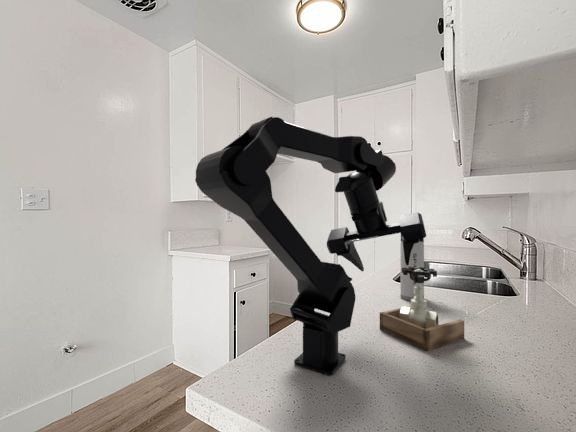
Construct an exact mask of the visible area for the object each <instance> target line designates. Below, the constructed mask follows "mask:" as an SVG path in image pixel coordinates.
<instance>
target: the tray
mask: <svg viewBox="0 0 576 432" xmlns="http://www.w3.org/2000/svg"><path fill="white" fill-rule="evenodd" d="M408 307H410V308H411V309H412V308H413V306H412V305H409V306H408ZM401 308H402V307H400V308H395V309H391V310H385V311H380V312H379V330H380V331H382V332H384V333H386V334H389V335H390V336H393V337H395V338H398V339H400V340H402V341H404V342H405V343H408V344H410V345H413V346H415V347H416V348H419V349H421V350H422V351H425V352H429V351H432V350H435V349H437V348H438V349H439V348H441V347H444V346H447V345H450V344H454V343H456V342H459V341H462V340H465V320H463V319H457V320H456V319H455V320H452V321H449V322H445V323H441V324H438V326H434V327H430V328H427V329H425V328H422V327H420V326H417V325H415V324H412V323H409V322H407V321H404V320H402V319H399V315H400V310H401Z"/></svg>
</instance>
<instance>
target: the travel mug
mask: <svg viewBox="0 0 576 432" xmlns="http://www.w3.org/2000/svg"><path fill="white" fill-rule="evenodd" d="M419 240H420V241H419V242H418V243H415V244H414V246H413V248H412V251H411V254H410V260H409V265H406V263H405V257H404V249H403V240H402V233H400V244H399V245H400V249H399V250H400V258H399V259H400V265H399V266H400V298H401V299H402V300H405V301H407V302H411V299H414V296H416V294H414V287H415V286H416V283H415V282H413V280H411V279H410V274H409V273H408V275H403V273H402V268H408V267H414V268H419V267H424V268H425V244H424V243H425V238H423V239H419ZM421 287H423V288H424V289H425V282H424V283H421ZM422 297H423V298H424V299H425V294H424V295H422Z"/></svg>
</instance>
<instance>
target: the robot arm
mask: <svg viewBox="0 0 576 432" xmlns="http://www.w3.org/2000/svg"><path fill="white" fill-rule="evenodd" d="M278 154H279V155H283V156H287V157H292V158H297V159H303V160H306V161H311V162H316V163H319V164H320V165H321V167H322V168H323V169H325V170H327V171H328V172H331V173H333V174H341V173H348V172H351V173H349V174H348V175H347V176H346V175H345V176H340V177H339V178H338V182H337V184H336V186H335V188H334V192H335V193H344V194H343V195H344V196H345V197H344V198H345V201H346V202H347V206H348V208H349V211H350V218H351V220H352V222H354V223H353V224H354V226H355V228H356V229H355V230H356V231H351V232H350V231H349V228H348V227H347V226H345V227H340V228H339V227H338V228H333V229H331V230H330V232H329V234H328V238H327V240H326V248H327V250H328V253H329V254H331V255H332V254H336V255H337V256H338V257H339V256H340V257H343V258H344V259H346V260H347V261H348V262H350V263H351V264H353V265H354V266H355V267H356V268H357V269H358V270H359V271H361V272H364V271H365V268H364V264H363V261H362V259H361V256H360V255H359V252H358V251H357V248H356V246H355V242H359V241H365V240H371V239H376V238H379V237H385V236H390V235H391V236H392V235H395V234H396V235H397V234H401V233H402V240H403V249H404V257H405V263H406V265H409V260H410V254H411V251H412V248H413V246H414V244H415V243H418V242H419V241H420V240H419V239H425V238H426V237H427V233H426V228H425V227H426V226H425V224H424V219H423V216H422V214H421V213H420V212H418V211H417V212H411V213H407V214H402V215H399V222H397V223H396V222H395V223H391V224H387V223H386V222H388V217H387V214H386V211H385V207H384V203H383V201H380V199H379V197H378V193H377V192H378V191H379V190H381V189H382V188H383V187H384V186H385V185H386V184H387V183H388V182H389V181H390V180H391V179H392V178H393V177H394V176H395V174H396V171H397V167H396V166H397V165H396V163H395V162H394V161H393V159H392V158H390V157H389V156H388V155H385V154H383V151H382V150H381V149H378V150H375V149H374V148H373V146H371V145H370V144H369V142H368V141H367V139H365V138H364V137H363V136H359V135H358V136H357V135H353V136H352V135H347V136H331V135H328V134H325V133H322V132H319V131H315V130H313V129H309V128H306V127H303V126H300V125H296V124H294V123H291V122H287V121H284V119H282V118H281V117H279V116H278V117H277V116H270V117H269V116H268V117H267V118H264V119H262V120H260V121H258V122H255V123H253V124H251V125H250V127H248V128H247V130H245V132H243V133H242V134H241V135H240V136H238V137H237V138H236V139H235V140H233V141H232V142H230V143H229V144H228V145H226V146H224V148H222V149H221V150H218V151H215V152H212V153H209V154H207V155H205V156H204V157H202V158H201V159H200V160H199V162H198V163H197V165H196V168H195V179H194V180H195V183H196V186H197V187H198V189H199V190H200V192H201V193H203V195H205V196H206V197H208V198H209V199H210V200H212V201H213V202H214V203H215V204H217V205H218V206H219V207H221V208H223V209H225V210H226V211H228V212H230V213H232V214H234V215H235V216H237V217H239V218H241V219H242V220H243V221H244V222H245V223H246V224H247V225H248V226H249V227H250V229H251V230H252V231H253V232H254V234H256V236H257V237H259V239H260V240H261V241H263V243H264V244H265V245H266V246H267V248H269V250H270V251H271V252H272V253H273V255H275V257H276V258H277V259H278V260H279V261H280V262H281V263H282V264H283V266H284V267H285V268H286V269H287V271H289V272H290V274H291V275H292V276H293V277H294V278H295V279H296V281H297V292H298V293H299V294H298V296H297V297H296V299H295V300H294V302H293V304H292V305H291V306H290V308H289V311H290V314H291V319H292V320H294V321H298V322H300V323H302V352H301V354H300V355H299V356H297V357H296V358H295V359H294V360H293V362H294V365H296V366H300V367H303V368H306V369H309V370H312V371H316V372H318V373H323V374H325V375H329V376H331V375H333V374H334V373H335V372H336V370H337V369H338V368H339V367H340V365H341V364H343V362H344V361H345V360H346V357H347V355H346V354H345V353H342V352H339V333H340V332H341V331H343V330H345V329H349V328H350V327H351V324H352V318H353V313H354V310H355V303H356V292H355V291H356V290H355V287H354V285H353V283H351V282H352V281H353V278H352V277H350V276H349V275H348V274H347V272H346V270H345V268H344V266H342V265H341V264H340V263H333V262H325V261H321V259H320V258H319V256H318V255H317V254H316V253H315V252H314V250H313V249H312V248H311V247H310V245H309V244H308V242H307V240H305V239H304V237H303V236H302V235H301V234H300V232H299V231H298V229H297V228H296V227H295V225H294V224H293V223H292V222H291V220H290V219H289V218H288V216H287V215H286V214H285V213H284V212H283V210H282V209H281V208H280V206H279V205H278V204H277V202H276V201H275V200H274V197H273V191H272V182H271V177H270V175H268V172H267V170H269V168H270V167H271V166H272V165H273V163H274V162H276V161H275V160H276V159H277V155H278ZM315 310H318V311H315ZM319 311H320V312H319ZM321 311H322V312H325V313H327V314H325V313H321ZM328 314H329V315H328Z"/></svg>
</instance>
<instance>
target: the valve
mask: <svg viewBox="0 0 576 432" xmlns="http://www.w3.org/2000/svg"><path fill="white" fill-rule="evenodd" d="M402 273H403V275H408V273H409V274H410V279H411V280H413V282H415V283H416V286H415V287H414V294H416V296H414V299H411V301H410V306H413V308H412V309H411V308H410V307H409V306H401V307H400V308H401V310H400V315H399V319H402V320H404V321H407V322H409V323H412V324H415V325H417V326H420V327H422V328H425V329H427V328H430V327H434V326H438V324H439V321H440V320H439V319H440V318H439V313H438V312H436V311H431V310H426V308H427V307H428V300H426V299H425V297H424V298H423V297H422V295H424V296H425V287H424V288H423V287H421V283H424V284H425V282H428V281H430V280H431V278H432V277H433V278H434V277H437V276H438V271H437V270H435V269H434V268H425V266H424V267H419V268H414V267H408V268H402ZM439 325H440V324H439Z"/></svg>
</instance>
